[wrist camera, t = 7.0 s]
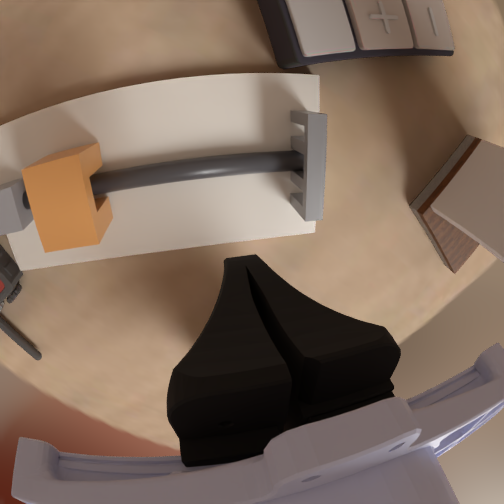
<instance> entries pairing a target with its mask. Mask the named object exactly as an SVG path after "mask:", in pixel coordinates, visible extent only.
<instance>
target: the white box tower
mask: <svg viewBox="0 0 504 504" xmlns="http://www.w3.org/2000/svg"><path fill="white" fill-rule="evenodd" d="M409 207H410V208H411V210H412V211H413V213H414V214H415V216H416V217H417V219H418V220H419V222H420V224H421V225H422V227H423V228H424V230H425V232H426V233H427V235H428V237H429V238H430V240H431V242H432V243H433V245H434V247H435V249H436V250H437V252H438V254H439V256H440V257H441V259H442V261H443V263H444V265H445V266H447V267H448V268H449V269H450V270H451V271H452V272H453V273H454V274H455V273H456V272H457V271H458V270H459V269H460V267H461V266H462V265H463V264H464V263H465V262H466V260H467V259H468V258H469V257H470V255H471V254H472V253H473V252H474V251H475V249H476V248H477V247H478V245H479V244H480V245H482V246H483V247H484V248H486V249H487V250H488V251H490V252H491V253H492V254H493V255H495V256H496V257H497V258H499V259H500V260H501V261H502V262H504V148H503V147H500V146H498V145H495V144H492V143H490V142H487V141H484V140H482V139H479V138H476V137H473V136H470V135H467V136H466V138H465V139H464V140H463V141H462V143H461V144H460V145H459V147H458V148H457V149H456V151H455V152H454V153H453V154H452V156H451V157H450V158H449V159H448V161H447V162H446V163H445V164H444V166H443V167H442V168H441V169H440V171H439V172H438V173H437V174H436V175H435V177H434V178H433V179H432V180H431V181H430V183H429V184H428V185H427V186H426V187H425V188H424V190H423V191H422V192H421V193H420V194H419V195H418V197H417V198H416V199H415V200H414V201H413V202H412V204H411V205H410V206H409Z"/></svg>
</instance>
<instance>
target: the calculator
mask: <svg viewBox="0 0 504 504" xmlns="http://www.w3.org/2000/svg"><path fill="white" fill-rule="evenodd" d="M257 1H258V4H259V7H260V10H261V13H262V16H263V19H264V22H265V25H266V28H267V32H268V35H269V38H270V41H271V44H272V48H273V51H274V54H275V58H276V61H277V64H278V66H279V67H280V68H282V69H288V68H294V67H299V66H305V65H311V64H317V63H323V62H331V61H338V60H346V59H356V58H367V57H382V56H413V55H422V56H452V55H453V53H454V51H453V50H454V49H455V47H454V42H453V37H452V33H451V29H450V25H449V21H448V17H447V14H446V10H445V7H444V3H443V1H442V0H257Z"/></svg>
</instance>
